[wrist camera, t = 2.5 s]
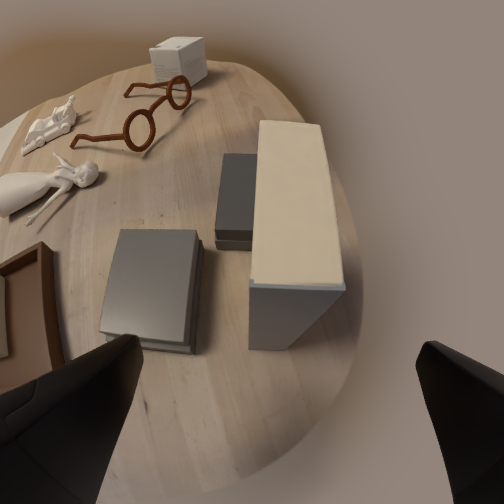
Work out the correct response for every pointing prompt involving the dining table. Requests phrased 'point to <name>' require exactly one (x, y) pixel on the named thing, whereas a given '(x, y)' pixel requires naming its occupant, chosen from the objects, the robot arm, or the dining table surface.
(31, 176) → the woman figurine
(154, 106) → the glasses
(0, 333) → the white book stack
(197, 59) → the white cardboard box
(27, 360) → the book tray
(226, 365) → the dining table surface
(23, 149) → the toy car
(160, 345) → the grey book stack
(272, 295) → the white book
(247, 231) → the dark grey book stack
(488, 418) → the robot arm
